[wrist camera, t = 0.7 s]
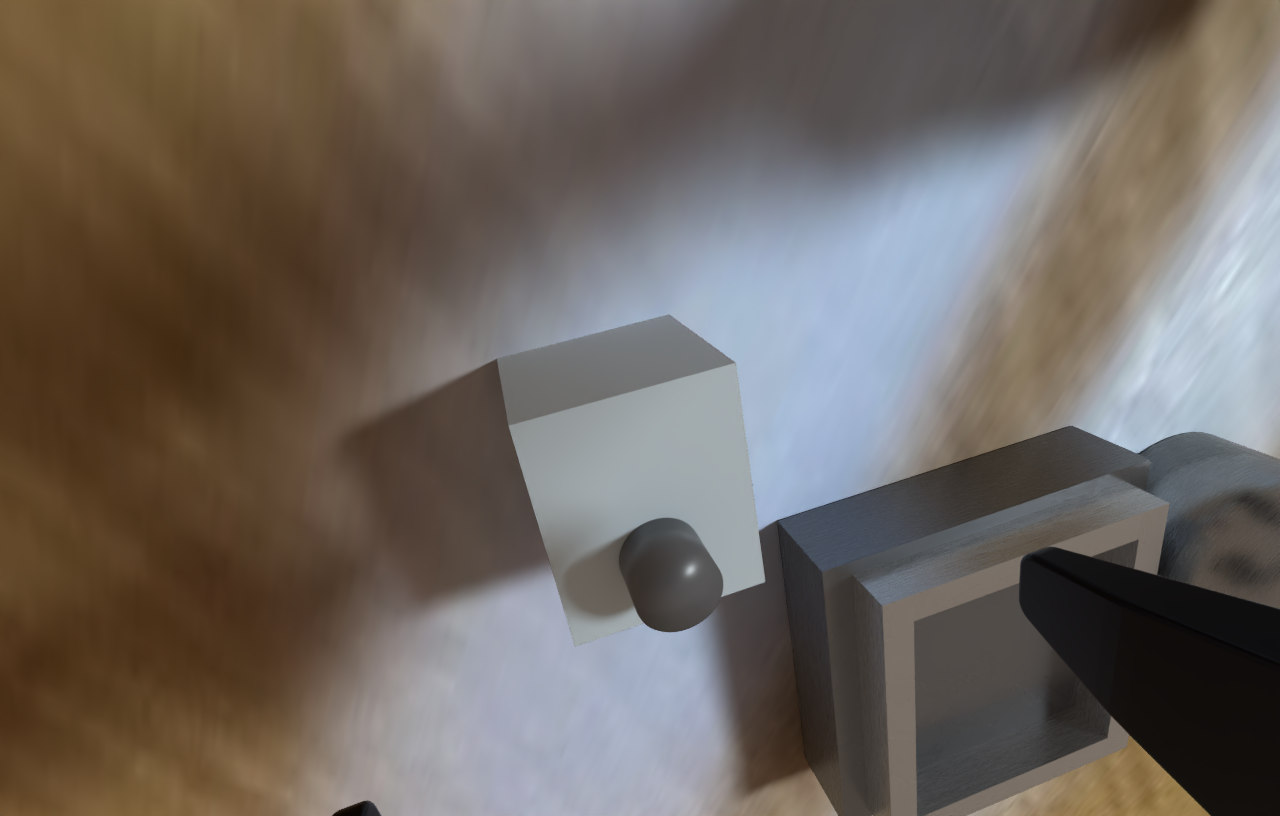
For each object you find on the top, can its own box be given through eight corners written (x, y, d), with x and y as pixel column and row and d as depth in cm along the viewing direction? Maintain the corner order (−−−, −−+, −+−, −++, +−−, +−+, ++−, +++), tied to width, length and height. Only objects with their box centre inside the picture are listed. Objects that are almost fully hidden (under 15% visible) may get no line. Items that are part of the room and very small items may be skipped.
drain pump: (668, 313, 18) (765, 384, 12) (699, 490, 21) (793, 620, 15) (496, 358, 17) (514, 456, 12) (549, 536, 20) (585, 694, 14)
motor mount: (1262, 364, 25) (1483, 419, 20) (1210, 599, 30) (1376, 696, 24) (777, 520, 22) (882, 639, 16) (805, 758, 26) (894, 912, 21)
